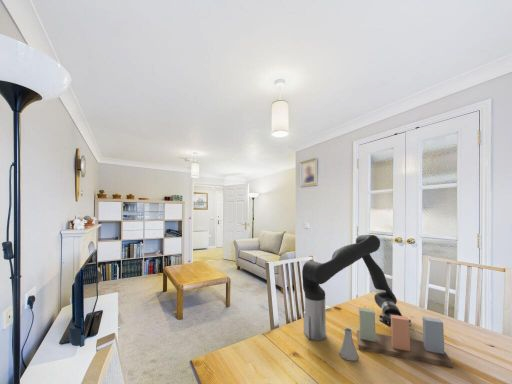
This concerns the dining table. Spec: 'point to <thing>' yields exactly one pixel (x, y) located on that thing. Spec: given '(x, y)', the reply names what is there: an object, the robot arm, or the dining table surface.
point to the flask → (348, 347)
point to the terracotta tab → (400, 332)
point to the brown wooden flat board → (415, 353)
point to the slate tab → (433, 335)
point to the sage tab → (367, 324)
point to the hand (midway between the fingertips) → (399, 330)
